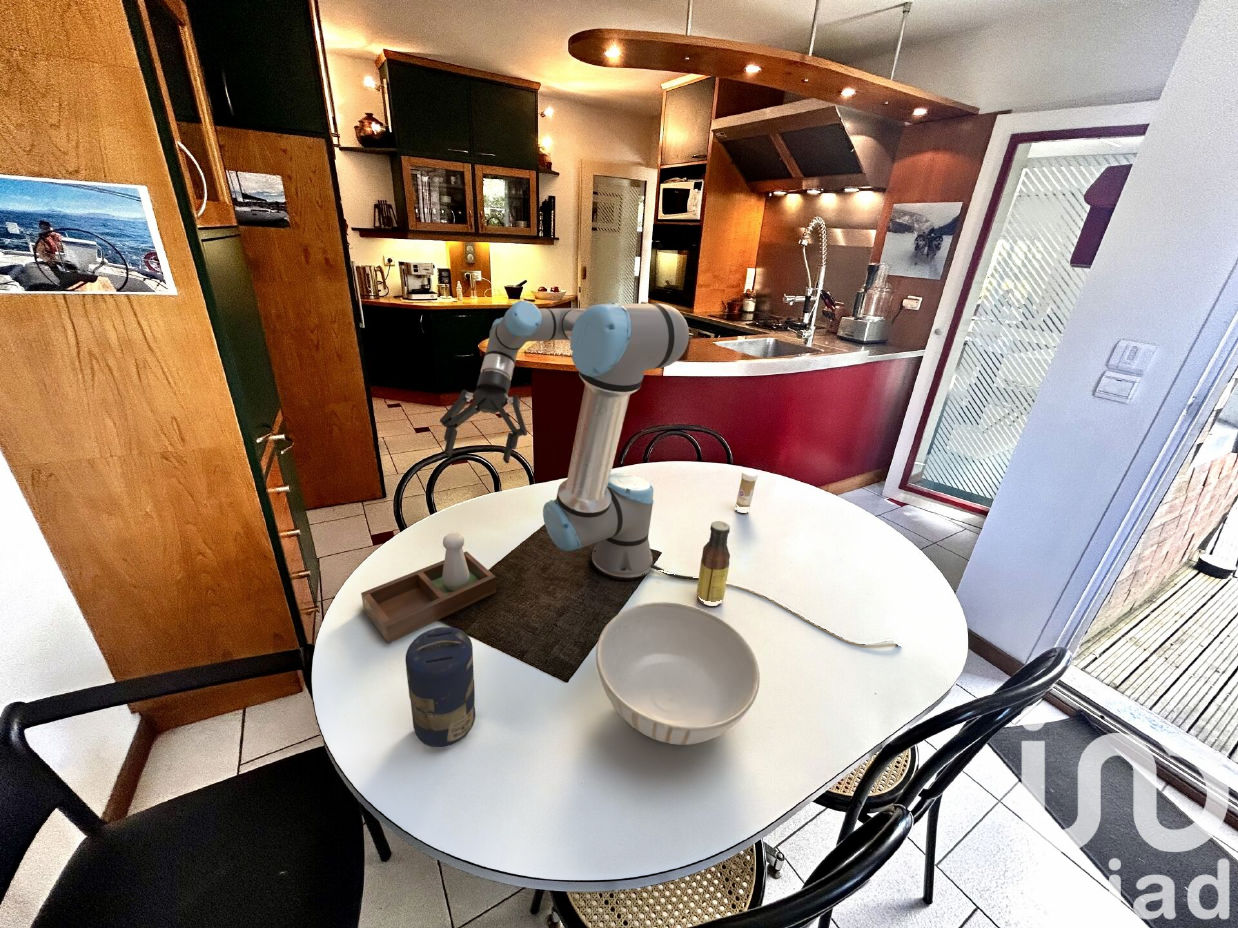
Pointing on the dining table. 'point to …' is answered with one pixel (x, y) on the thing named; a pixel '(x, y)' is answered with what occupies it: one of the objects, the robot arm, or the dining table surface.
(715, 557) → the sauce bottle
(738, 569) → the dining table surface
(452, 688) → the canister
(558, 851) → the dining table surface
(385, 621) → the wooden compartment tray
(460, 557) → the salt shaker
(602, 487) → the robot arm
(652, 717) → the decorative bowl
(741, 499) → the sprinkles bottle
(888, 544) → the dining table surface
